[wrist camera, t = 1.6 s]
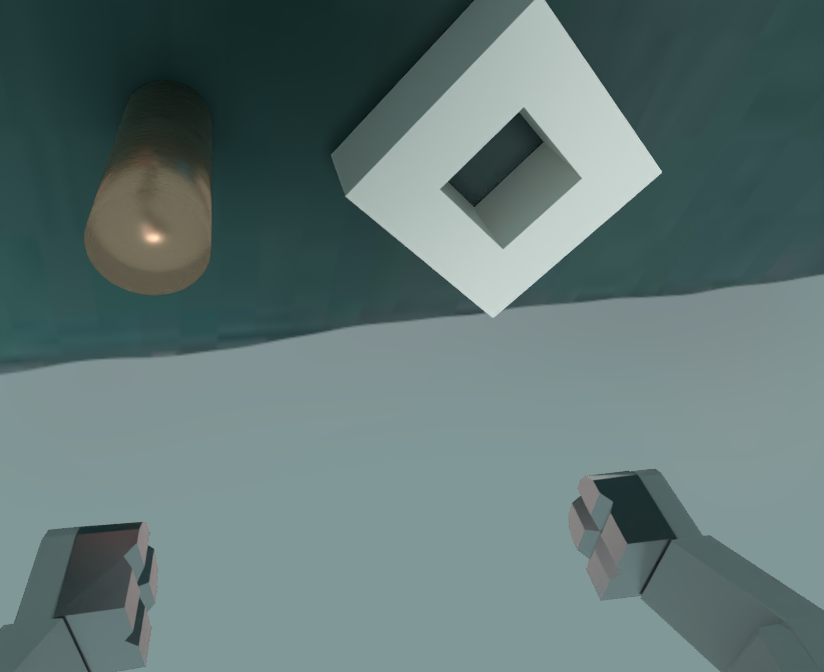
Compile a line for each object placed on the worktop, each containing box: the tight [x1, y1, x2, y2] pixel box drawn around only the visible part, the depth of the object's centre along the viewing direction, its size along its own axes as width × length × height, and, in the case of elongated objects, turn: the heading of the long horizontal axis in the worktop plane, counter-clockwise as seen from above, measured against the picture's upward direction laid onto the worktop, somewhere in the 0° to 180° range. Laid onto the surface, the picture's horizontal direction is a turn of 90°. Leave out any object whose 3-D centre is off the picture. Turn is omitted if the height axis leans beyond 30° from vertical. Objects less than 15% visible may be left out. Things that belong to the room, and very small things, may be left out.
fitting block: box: [331, 0, 662, 318], centre depth 33 cm, size 12×12×5 cm
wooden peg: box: [84, 80, 213, 295], centre depth 26 cm, size 4×4×12 cm
